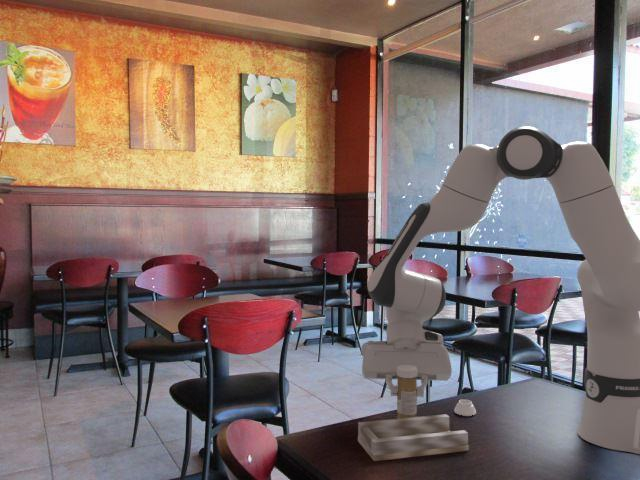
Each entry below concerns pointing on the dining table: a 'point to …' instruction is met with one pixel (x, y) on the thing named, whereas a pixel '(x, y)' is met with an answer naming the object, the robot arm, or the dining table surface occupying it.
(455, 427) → the dining table surface
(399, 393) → the sprinkles bottle
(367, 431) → the track
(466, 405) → the lidless jar
